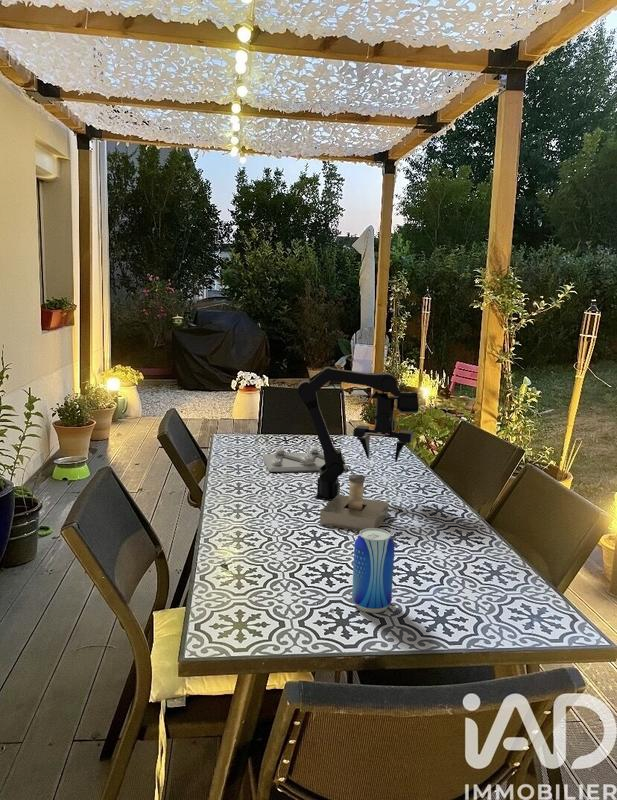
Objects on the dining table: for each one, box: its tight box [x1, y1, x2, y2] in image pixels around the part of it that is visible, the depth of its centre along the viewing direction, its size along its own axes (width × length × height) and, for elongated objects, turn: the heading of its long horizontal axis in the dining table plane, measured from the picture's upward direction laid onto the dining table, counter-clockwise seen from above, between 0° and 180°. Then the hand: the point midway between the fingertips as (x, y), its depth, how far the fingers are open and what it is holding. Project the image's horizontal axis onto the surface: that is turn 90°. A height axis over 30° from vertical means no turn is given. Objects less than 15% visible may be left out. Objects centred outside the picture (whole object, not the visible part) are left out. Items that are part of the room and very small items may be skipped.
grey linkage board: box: [261, 446, 349, 473], centre depth 242 cm, size 30×22×7 cm
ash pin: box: [348, 474, 366, 511], centre depth 184 cm, size 5×5×13 cm
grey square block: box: [319, 494, 389, 532], centre depth 185 cm, size 16×16×4 cm
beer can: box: [351, 528, 396, 614], centre depth 133 cm, size 8×8×16 cm
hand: (382, 459), depth 202 cm, fingers open, 9 cm apart
